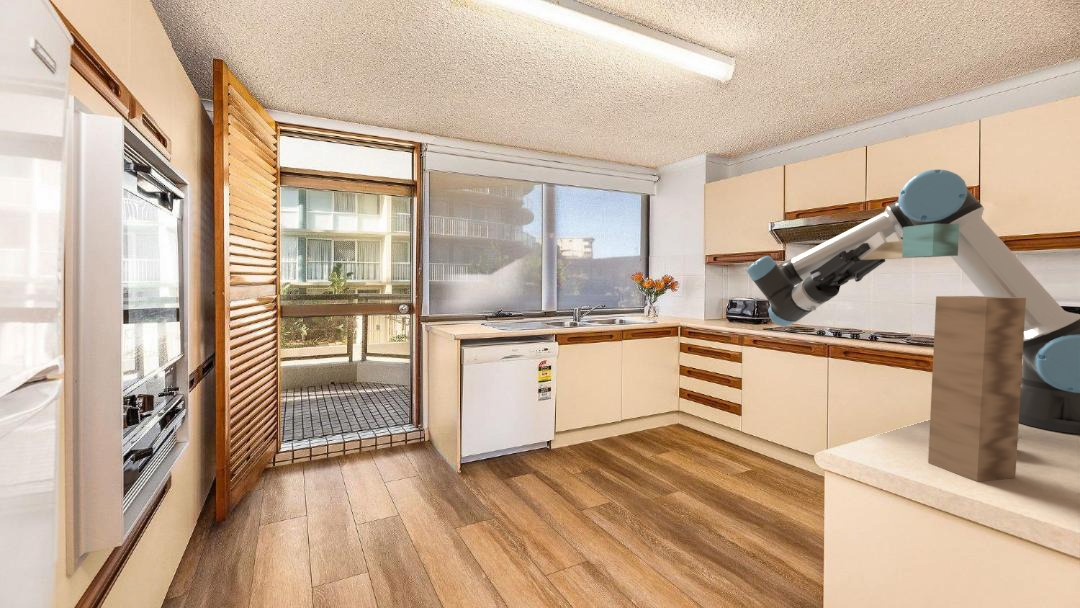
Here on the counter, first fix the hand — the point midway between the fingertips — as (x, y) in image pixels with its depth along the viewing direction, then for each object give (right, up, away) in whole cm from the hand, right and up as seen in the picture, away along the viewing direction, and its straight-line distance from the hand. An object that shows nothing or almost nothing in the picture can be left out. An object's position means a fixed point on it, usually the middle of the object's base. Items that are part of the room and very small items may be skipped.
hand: (890, 237), depth 101 cm
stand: (0, -43, -19) cm, 47 cm away
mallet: (0, -5, -2) cm, 5 cm away
